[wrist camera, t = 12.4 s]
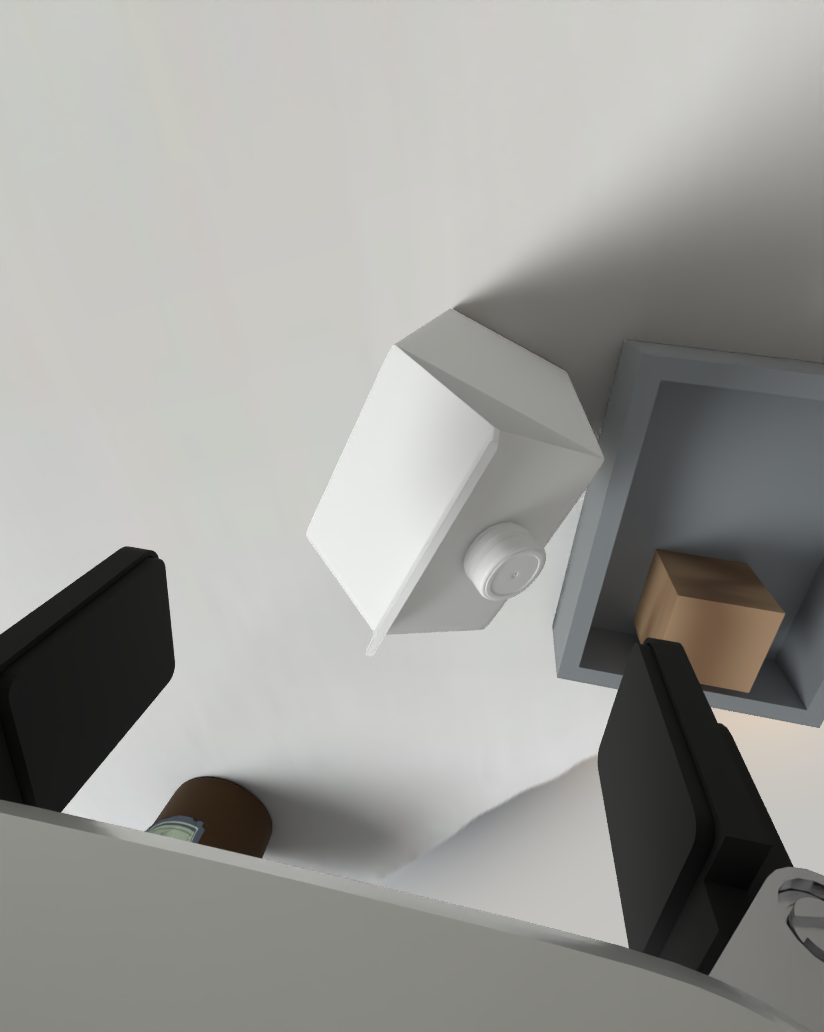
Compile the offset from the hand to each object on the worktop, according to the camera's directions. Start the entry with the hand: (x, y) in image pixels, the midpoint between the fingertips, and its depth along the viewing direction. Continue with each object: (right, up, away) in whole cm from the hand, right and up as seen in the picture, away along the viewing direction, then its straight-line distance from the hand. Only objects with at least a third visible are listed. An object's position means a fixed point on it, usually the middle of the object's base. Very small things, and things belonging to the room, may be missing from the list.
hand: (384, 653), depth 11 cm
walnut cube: (+17, -2, +22) cm, 28 cm away
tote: (+17, +3, +21) cm, 27 cm away
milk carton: (+4, +9, +20) cm, 23 cm away
